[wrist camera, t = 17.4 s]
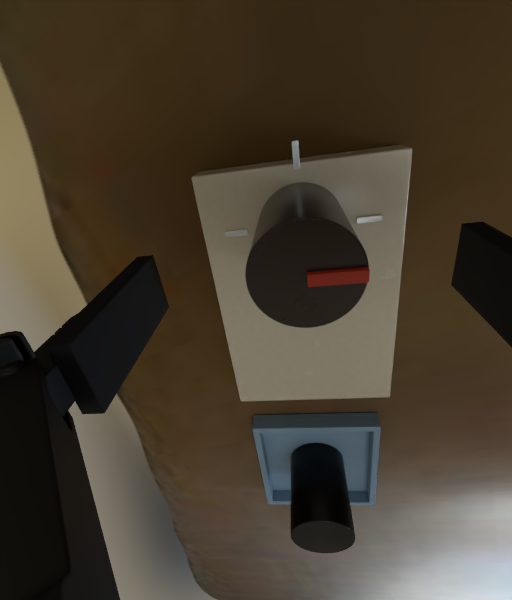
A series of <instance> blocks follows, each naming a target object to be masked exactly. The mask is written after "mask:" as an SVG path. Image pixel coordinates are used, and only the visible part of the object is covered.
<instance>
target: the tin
mask: <svg viewBox="0 0 512 600" xmlns="http://www.w3.org/2000/svg"><path fill="white" fill-rule="evenodd" d="M291 538H292V540H293V542H294V543H295V544H296V545H298V546H299V547H301V548H303V549H305V550H308V551H312V552H318V553H334V552H340V551H343V550H346V549H347V548H349V547H351V546H352V545H353V543H354V541H355V533H354V526H353V520H352V513H351V507H350V500H349V494H348V487H347V481H346V474H345V468H344V461H343V456H342V454H341V453H340V452H339V451H338V450H337V449H336V448H334V447H333V446H330V445H327V444H323V443H308V444H304V445H302V446H299V447H298V448H296V449H295V450H294V451H293V453H292V454H291Z"/></svg>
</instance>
